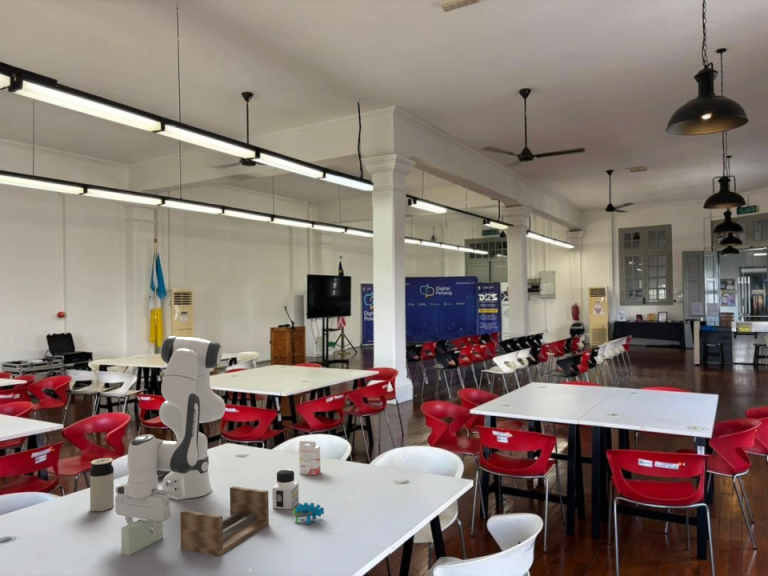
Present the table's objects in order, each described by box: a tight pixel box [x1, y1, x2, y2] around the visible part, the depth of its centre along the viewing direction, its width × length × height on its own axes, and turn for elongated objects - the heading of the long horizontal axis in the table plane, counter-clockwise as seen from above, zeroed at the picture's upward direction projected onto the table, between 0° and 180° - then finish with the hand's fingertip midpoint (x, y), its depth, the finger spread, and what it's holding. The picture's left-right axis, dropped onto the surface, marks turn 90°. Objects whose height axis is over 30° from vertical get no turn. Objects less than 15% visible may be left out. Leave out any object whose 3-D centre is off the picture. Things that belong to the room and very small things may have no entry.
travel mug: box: [89, 457, 115, 512], centre depth 212 cm, size 8×8×18 cm
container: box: [271, 468, 300, 510], centre depth 211 cm, size 8×8×13 cm
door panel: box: [120, 518, 164, 556], centre depth 177 cm, size 3×14×8 cm, turn 158°
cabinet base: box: [179, 486, 270, 557], centre depth 183 cm, size 15×26×12 cm, turn 158°
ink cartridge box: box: [298, 440, 321, 476], centre depth 251 cm, size 9×5×15 cm, turn 73°
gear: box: [292, 502, 325, 525], centre depth 193 cm, size 11×6×10 cm
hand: (143, 531), depth 177 cm, fingers open, 8 cm apart
